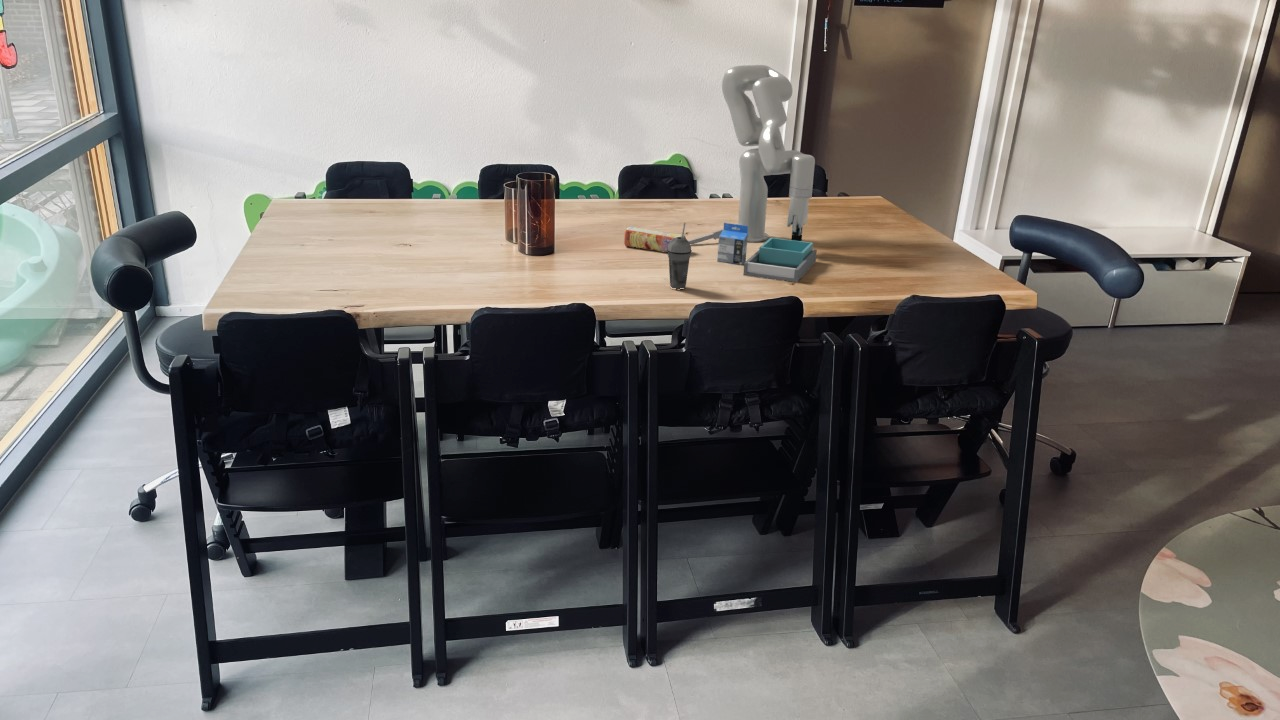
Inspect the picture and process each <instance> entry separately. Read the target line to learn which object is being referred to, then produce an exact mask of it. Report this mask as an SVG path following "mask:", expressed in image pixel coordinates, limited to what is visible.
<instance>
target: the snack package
mask: <svg viewBox="0 0 1280 720" xmlns="http://www.w3.org/2000/svg"><path fill="white" fill-rule="evenodd" d="M623 237H624V240H623V242H624V244H623V245H624V246H625V247H626V246H629V247H628V248H634V247H636V248H635V249H640V248H643V249H642V250H647V249H649V251H653V250H657V251H656V252H660V251H664V252H663V253H666V252H668V251H667V250H668V246H669V243H670V242H671V240H673V239H674V238H676V237H682V234H678V233H671V232H666V231H660V230H652V229H645V228H639V227H635V226H628V227H627V228H626V229H625V231H624V236H623ZM683 238H685V239H687V238H686V236H685V235H684V236H683Z"/></svg>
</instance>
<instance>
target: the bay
mask: <svg viewBox="0 0 1280 720" xmlns="http://www.w3.org/2000/svg"><path fill="white" fill-rule="evenodd" d="M817 252H818V250H817V249H813V251H812V252H811V253H810V254H809V255H808V256H807V257H806V258H805V260H804V261H803V262H802V263H801V264H800V265H799V266H798V267H790V266H782V265H775V264H767V263H760V262H758V260H759V249H758V250H757V251H756V252H755V253H754V254H753V255H751V256H750V257H749V258H748V259H746V262H745V263H744V264H743V272H742V273H743V276H747V277H753V276H754V278H760V277H763V278H762V279H767V278H768V279H769V280H774V279H776V280H777V281H782V280H786V281H785V282H789V281H792V282H791V283H796V282H797V283H798V282H799V281H800V280H801V279H802V278H803V277H804V275H805V274H806V273H807V272H808V271H809V270H810V269H811V268H812V267H813V266H814V264H815V263H816V262H817ZM810 267H811V268H810ZM809 268H810V269H809ZM801 277H802V278H801ZM800 278H801V279H800ZM768 279H767V280H768ZM799 279H800V280H799ZM798 280H799V281H798Z"/></svg>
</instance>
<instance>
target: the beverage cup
mask: <svg viewBox="0 0 1280 720" xmlns="http://www.w3.org/2000/svg"><path fill="white" fill-rule="evenodd" d="M685 229H686V222H684V223H683V227H682V231H681V235H682V237H676V238H674V239H673V240H671V242H670V243H669V246H668V250H667V251H668V253H667V256H668V265H669V266H668V270H669V284H670V285H669V286H671V287H672V288H676V289H680V288H685V289H686V285H687V281H688V280H687V279H688V271H689V267H690V266H689V265H690V259H691V255H692V245H690V243H689V241H688V240H689V239H687V238H686V239H685V238H683V236H685V235H684V234H685Z"/></svg>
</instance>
